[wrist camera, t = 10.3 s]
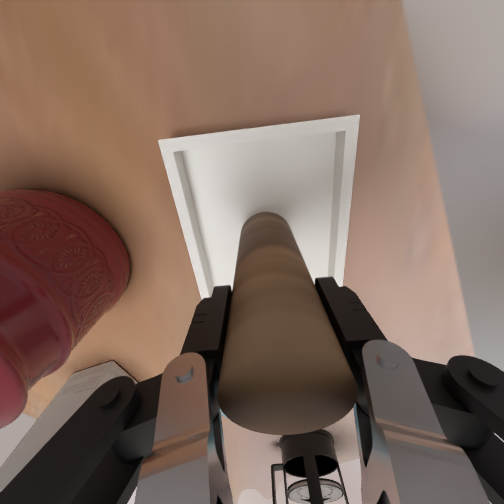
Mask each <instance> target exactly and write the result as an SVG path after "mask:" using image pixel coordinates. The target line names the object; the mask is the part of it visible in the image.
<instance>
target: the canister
mask: <svg viewBox="0 0 504 504" xmlns="http://www.w3.org/2000/svg"><path fill="white" fill-rule="evenodd" d="M129 276H130V262H129V258H128V254H127V251H126V249H125V247H124V245H123V243H122V241H121V239H120V238H119V236H118V235H117V233H116V232H115V231H114V230H113V228H112V227H111V226H110V225H109V224H108V223H107V222H106V221H105V220H104V219H103V218H102V217H101V216H99V215H98V214H97V213H96V212H94V211H93V210H92V209H90V208H89V207H87V206H85V205H84V204H82V203H80V202H78V201H76V200H74V199H72V198H70V197H67V196H65V195H62V194H58V193H55V192H50V191H44V190H21V189H18V190H5V191H0V429H1V428H3V427H5V426H7V425H9V424H10V423H12V422H13V421H14V420H15V419H17V418H18V417H19V415H20V414H21V413H22V412H23V410H24V408H25V406H26V403H27V398H28V391H29V390H30V389H31V388H32V387H33V386H34V385H35V384H36V383H37V382H38V381H39V380H40V379H41V378H42V377H45V376H47V375H50V374H51V373H53V372H55V371H56V370H58V369H59V368H60V367H61V366H62V365H63V364H64V363H65V362H66V360H67V359H68V357H69V355H70V353H71V351H72V350H73V349H74V348H75V346H76V345H77V344H78V343H79V342H80V341H81V340H82V338H83V337H84V336H85V335H86V334H87V333H88V332H89V330H90V329H91V328H92V327H93V326H94V325H95V324H96V322H97V321H98V320H99V319H100V318H101V317H102V316H103V315H104V314H105V313H107V312H108V311H109V310H110V309H111V308H112V307H113V306H114V305H115V303H116V302H117V301H118V300H119V299H120V297H121V296H122V294H123V292H124V289H125V287H126V285H127V283H128V281H129Z"/></svg>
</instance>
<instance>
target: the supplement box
mask: <svg viewBox="0 0 504 504" xmlns="http://www.w3.org/2000/svg"><path fill="white" fill-rule="evenodd" d="M119 376H128V377H130V378H132V377H131V376H130V375H128V374H127V373H126V372H125V371H124V370H123V369H122V368H121V367H119V366H118V365H117V364H116V363H115V362H114V361H110V362H106V363H103V364H100V365H97V366H94V367H91V368H88V369H85V370H82V371H79V372H76V373H74V374H72V375H71V376H70V377H69V379H68V380H67V381H66V383H65V384H64V385H63V387H62V388H61V389H60V391H59V392H58V393H57V394H56V396H55V397H54V398H53V400H52V401H51V402H50V404H49V405H48V406H47V408H46V409H45V410H44V411H43V413H42V414H41V415H40V417H39V418H38V419H37V420H36V422H35V423H34V425H33V426H32V427H31V428H30V430H29V431H28V432H27V434H26V435H25V436H24V437H23V439H22V440H21V441H20V442H19V444H18V445H17V446H16V448H15V449H14V450H13V452H12V453H11V454H10V456H9V457H8V458H7V459H6V461H5V462H4V463H3V465H2V466H1V467H0V492H1V491H2V490H3V489H4V488H5V487H6V486H7V485H8V484H9V483H10V482H11V480H12V479H13V478H14V477H15V476H16V475H17V474H18V473H19V472H20V471H21V470H22V469H23V468H24V466H25V465H26V464H27V463H28V462H29V461H30V460H31V459H32V458H33V457H34V456H35V455H36V454H37V453H38V451H39V450H40V449H41V448H42V447H43V446H44V445H45V444H46V443H47V442H48V441H49V440H50V439H51V437H52V436H53V435H54V434H55V433H56V432H57V431H58V430H59V429H60V428H61V427H62V426H63V425H64V424H65V422H66V421H67V420H68V419H69V418H70V417H71V416H72V415H73V414H74V413H75V412H76V411H77V410H78V408H79V407H80V406H81V405H82V404H83V403H84V402H85V401H86V400H87V399H88V398H89V397H90V396H91V395H92V393H93V392H94V391H95V390H96V389H97V388H99V387H100V386H101V385H102V384H104V383H105V382H107V381H109V380H110V379H113V378H115V377H119ZM132 379H133V378H132ZM133 381H134V382H135V384H137V383H138V382H137V381H135V380H134V379H133Z"/></svg>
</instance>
